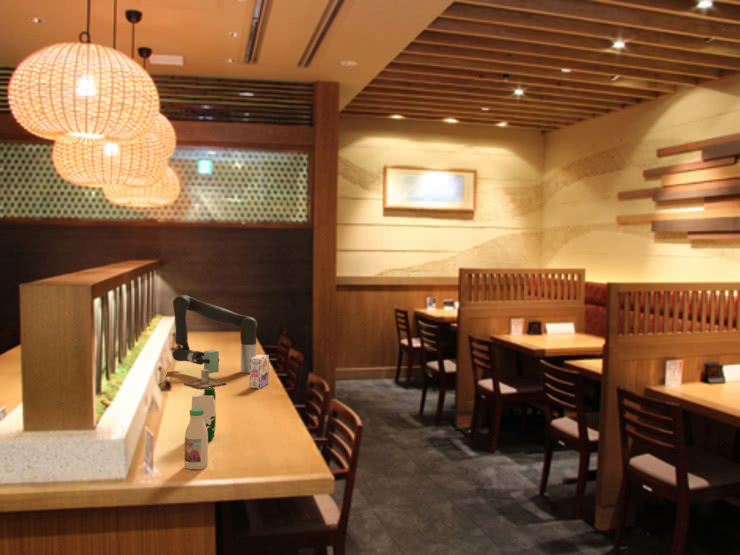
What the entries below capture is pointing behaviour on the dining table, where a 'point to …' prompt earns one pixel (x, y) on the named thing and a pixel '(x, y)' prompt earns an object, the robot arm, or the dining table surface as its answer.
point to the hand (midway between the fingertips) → (213, 361)
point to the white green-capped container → (207, 408)
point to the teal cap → (212, 361)
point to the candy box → (259, 371)
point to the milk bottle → (196, 441)
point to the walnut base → (200, 385)
